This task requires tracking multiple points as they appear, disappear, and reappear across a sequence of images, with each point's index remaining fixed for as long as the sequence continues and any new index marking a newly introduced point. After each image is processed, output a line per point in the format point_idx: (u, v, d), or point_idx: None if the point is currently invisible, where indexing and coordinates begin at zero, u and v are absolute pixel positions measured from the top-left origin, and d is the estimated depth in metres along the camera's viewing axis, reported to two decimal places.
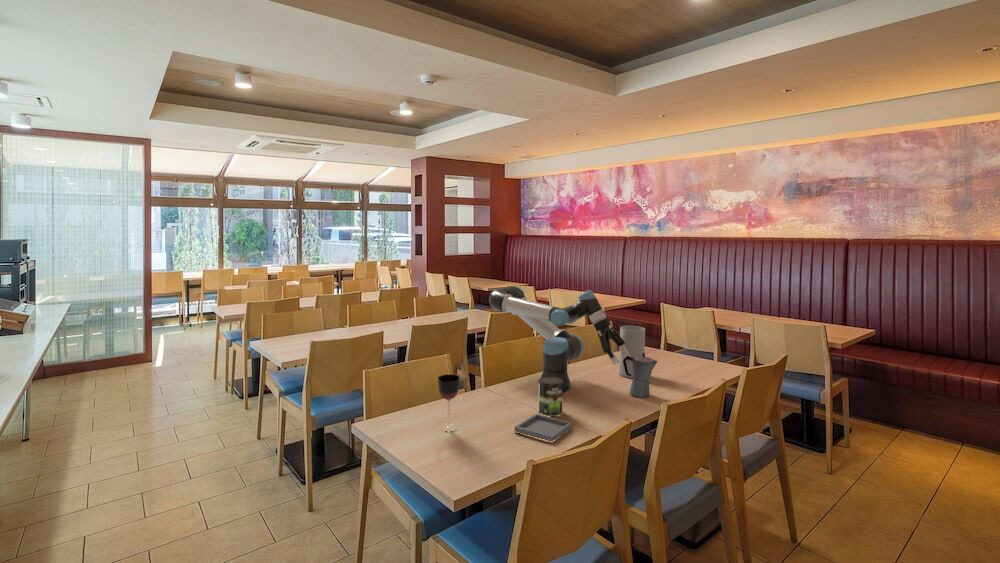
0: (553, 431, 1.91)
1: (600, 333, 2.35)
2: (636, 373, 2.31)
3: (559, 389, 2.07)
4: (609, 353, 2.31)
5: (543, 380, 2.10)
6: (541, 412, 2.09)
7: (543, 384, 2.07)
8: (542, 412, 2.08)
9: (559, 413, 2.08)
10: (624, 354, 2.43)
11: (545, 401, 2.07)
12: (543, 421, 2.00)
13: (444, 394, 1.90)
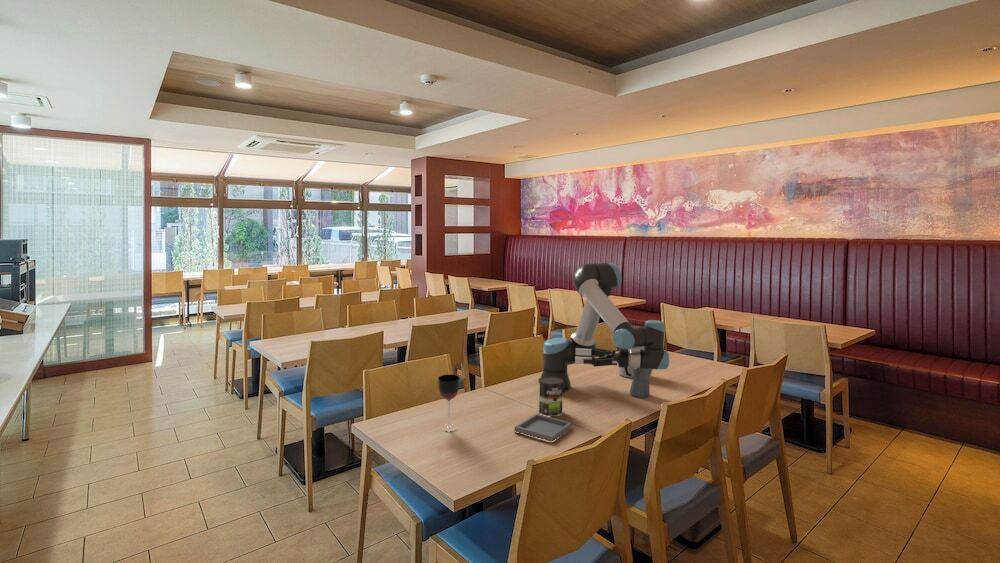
0: (553, 431, 1.91)
1: (615, 362, 1.98)
2: (636, 373, 2.31)
3: (559, 389, 2.07)
4: (589, 362, 1.98)
5: (543, 380, 2.10)
6: (541, 412, 2.09)
7: (543, 384, 2.07)
8: (542, 412, 2.08)
9: (559, 413, 2.08)
10: (580, 351, 2.13)
11: (545, 401, 2.07)
12: (543, 421, 2.00)
13: (444, 394, 1.90)
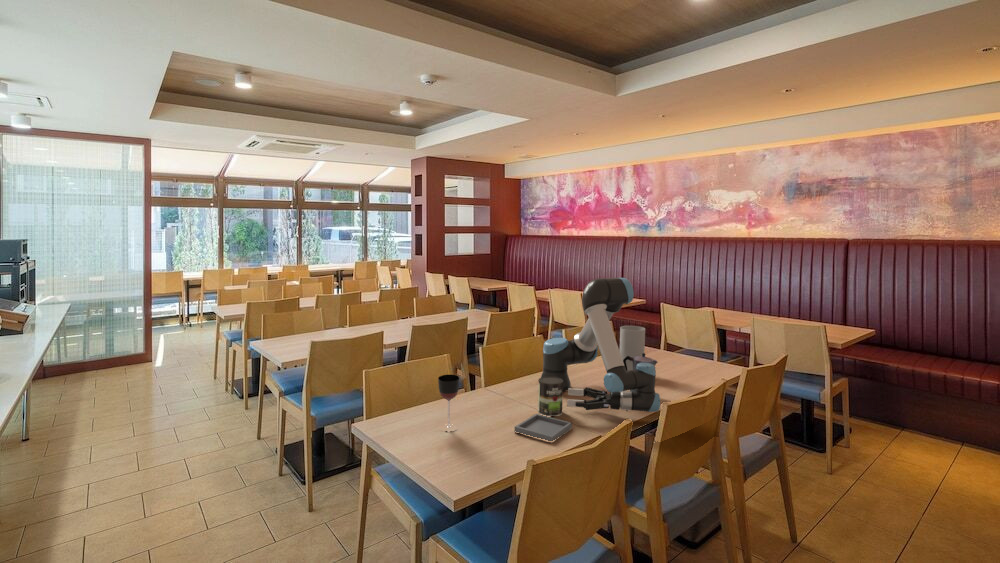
0: (553, 431, 1.91)
1: (606, 406, 2.00)
2: None
3: (559, 389, 2.07)
4: (581, 405, 2.00)
5: (543, 380, 2.10)
6: (541, 412, 2.09)
7: (543, 384, 2.07)
8: (542, 412, 2.08)
9: (559, 413, 2.08)
10: (573, 391, 2.15)
11: (545, 401, 2.07)
12: (543, 421, 2.00)
13: (444, 394, 1.90)
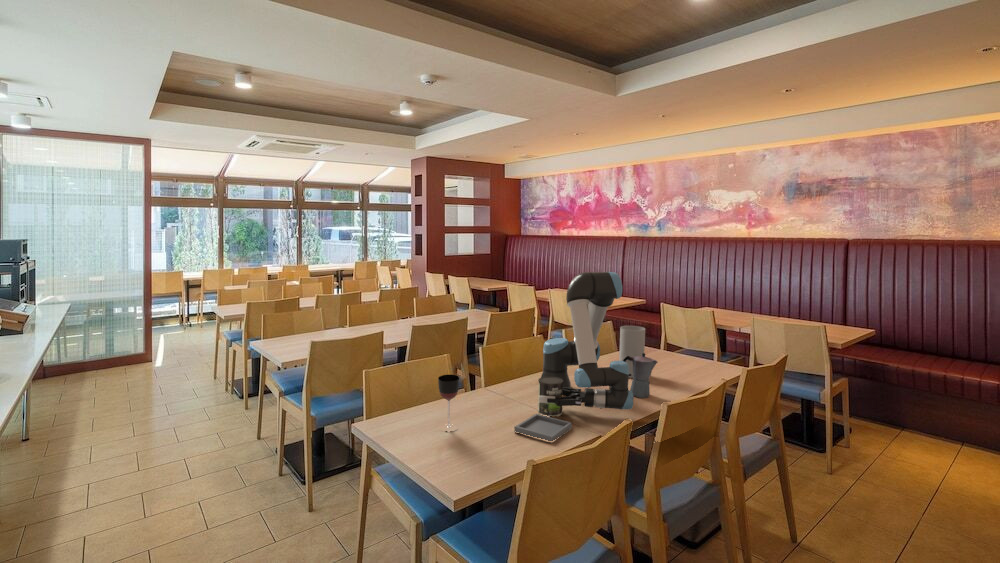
0: (553, 431, 1.91)
1: (578, 403, 2.03)
2: (636, 373, 2.31)
3: (559, 389, 2.07)
4: (552, 401, 2.04)
5: (543, 380, 2.10)
6: (541, 412, 2.09)
7: (543, 384, 2.07)
8: (542, 412, 2.08)
9: (559, 413, 2.08)
10: None
11: None
12: (543, 421, 2.00)
13: (444, 394, 1.90)
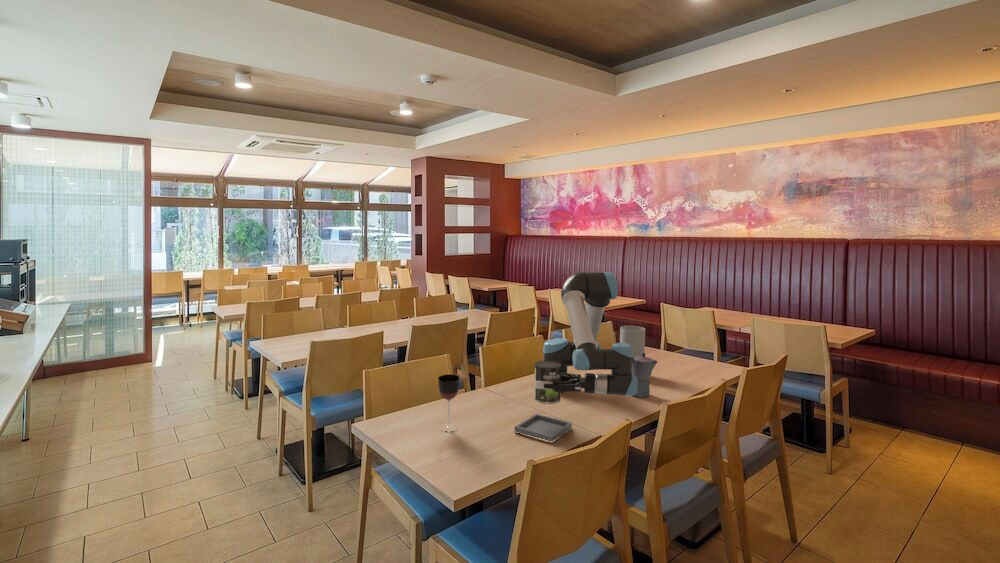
0: (553, 431, 1.91)
1: (577, 388, 1.86)
2: (636, 373, 2.31)
3: (557, 374, 1.91)
4: (549, 386, 1.88)
5: (540, 364, 1.94)
6: (537, 399, 1.92)
7: (540, 368, 1.90)
8: (538, 399, 1.92)
9: (557, 400, 1.92)
10: None
11: None
12: (543, 421, 2.00)
13: (444, 394, 1.90)
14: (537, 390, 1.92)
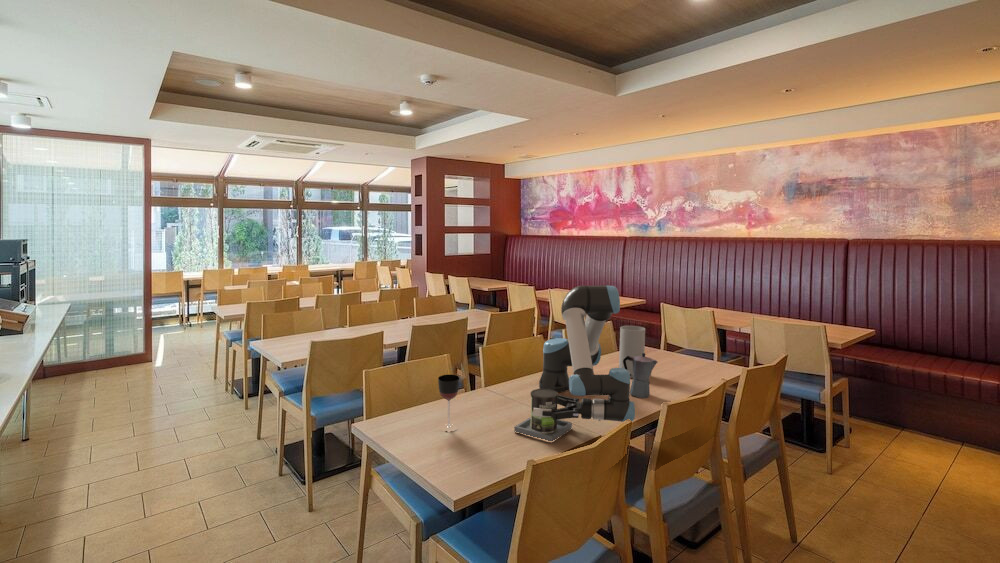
0: None
1: (576, 415, 1.83)
2: (636, 373, 2.31)
3: (554, 403, 1.88)
4: (548, 414, 1.84)
5: (536, 393, 1.91)
6: (533, 428, 1.90)
7: (535, 398, 1.88)
8: (535, 428, 1.89)
9: (553, 429, 1.89)
10: None
11: (538, 417, 1.88)
12: None
13: (444, 394, 1.90)
14: (533, 419, 1.90)
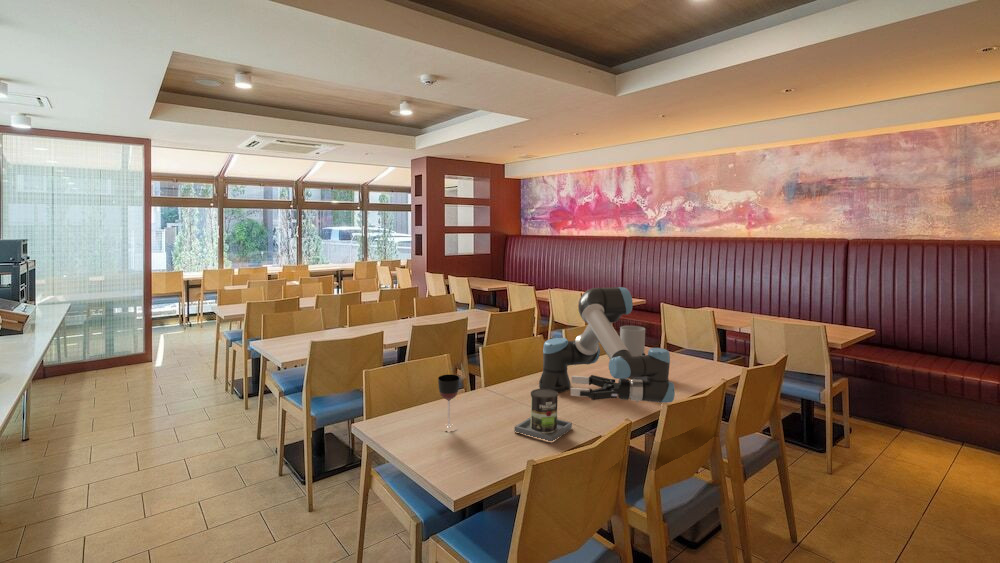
0: None
1: (614, 395, 1.80)
2: None
3: (554, 403, 1.88)
4: (586, 394, 1.80)
5: (536, 393, 1.91)
6: (533, 428, 1.90)
7: (536, 397, 1.88)
8: (535, 428, 1.89)
9: (553, 429, 1.89)
10: (577, 378, 1.95)
11: (538, 416, 1.88)
12: None
13: (444, 394, 1.90)
14: (533, 419, 1.90)
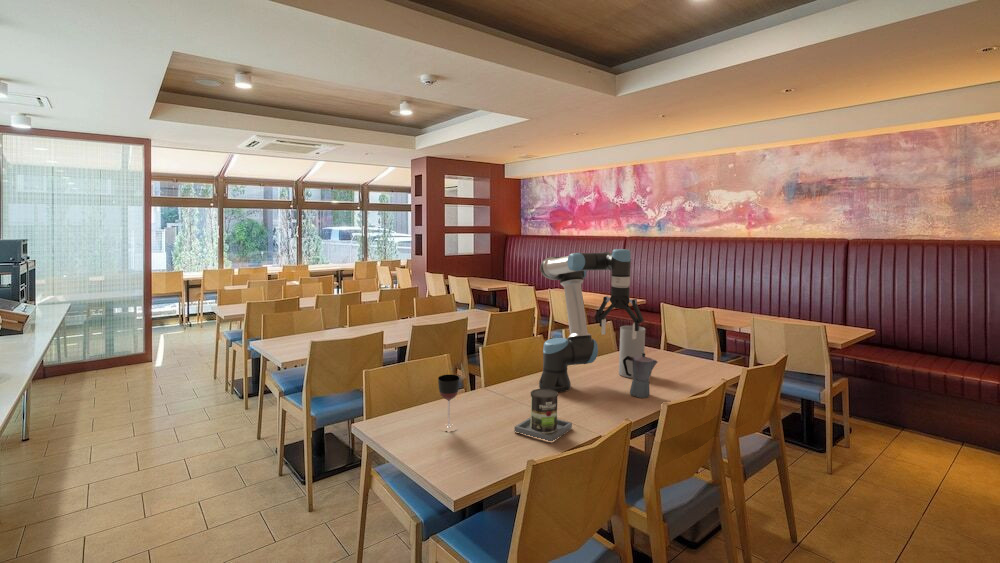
0: None
1: None
2: (636, 373, 2.31)
3: (553, 403, 1.88)
4: None
5: (536, 393, 1.91)
6: (533, 428, 1.90)
7: (535, 397, 1.88)
8: (534, 428, 1.89)
9: (553, 429, 1.89)
10: None
11: (538, 416, 1.88)
12: None
13: (444, 394, 1.90)
14: (533, 419, 1.90)
